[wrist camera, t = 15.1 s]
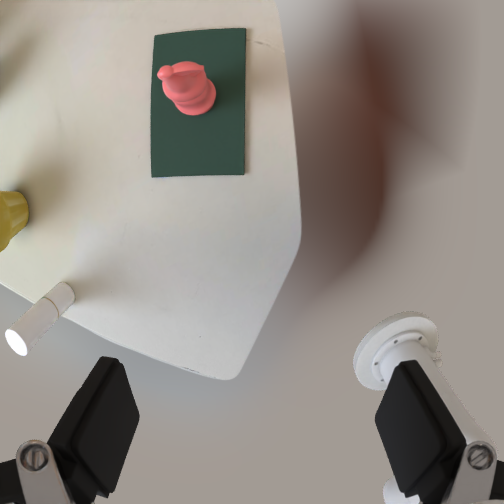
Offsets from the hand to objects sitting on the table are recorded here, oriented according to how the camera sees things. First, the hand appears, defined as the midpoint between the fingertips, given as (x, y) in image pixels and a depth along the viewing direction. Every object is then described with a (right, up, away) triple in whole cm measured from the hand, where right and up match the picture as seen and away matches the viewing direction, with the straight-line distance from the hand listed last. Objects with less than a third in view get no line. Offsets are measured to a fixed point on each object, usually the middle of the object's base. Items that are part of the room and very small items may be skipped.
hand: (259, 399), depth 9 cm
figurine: (-7, +24, +24) cm, 34 cm away
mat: (-7, +24, +24) cm, 35 cm away
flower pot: (-40, +12, +28) cm, 50 cm away
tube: (-32, -2, +33) cm, 46 cm away
